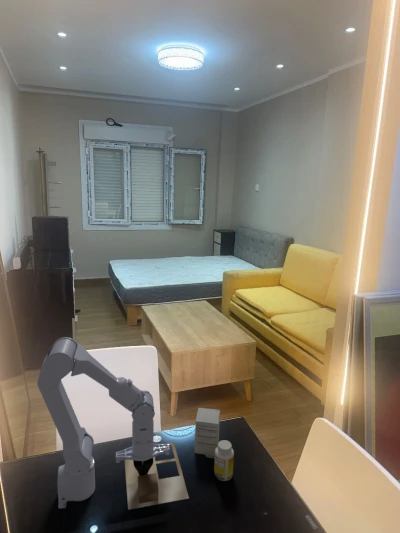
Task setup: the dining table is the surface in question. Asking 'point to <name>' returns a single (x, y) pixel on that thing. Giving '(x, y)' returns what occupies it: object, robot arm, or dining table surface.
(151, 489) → the walnut block
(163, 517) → the dining table surface
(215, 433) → the supplement box
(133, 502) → the board
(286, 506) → the dining table surface
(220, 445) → the supplement bottle
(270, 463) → the dining table surface
